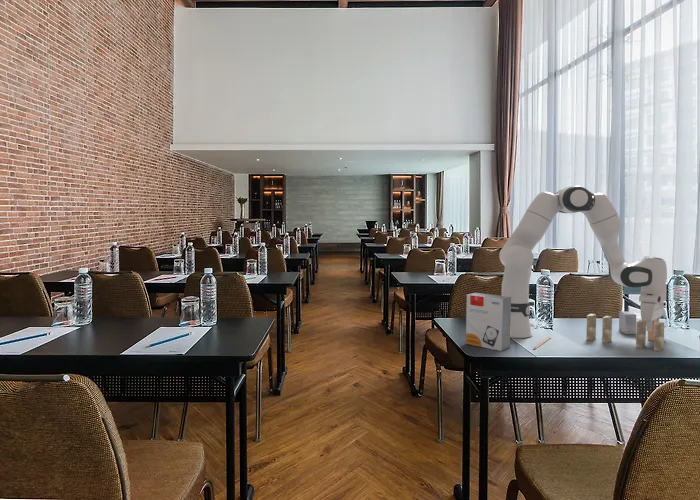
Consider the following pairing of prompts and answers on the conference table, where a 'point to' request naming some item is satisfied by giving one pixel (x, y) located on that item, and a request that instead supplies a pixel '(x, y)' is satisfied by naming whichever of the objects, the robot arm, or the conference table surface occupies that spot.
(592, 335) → the domino
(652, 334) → the domino
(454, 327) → the conference table surface
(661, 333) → the end domino
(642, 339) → the domino
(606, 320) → the domino
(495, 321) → the hard drive box
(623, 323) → the medicine box
